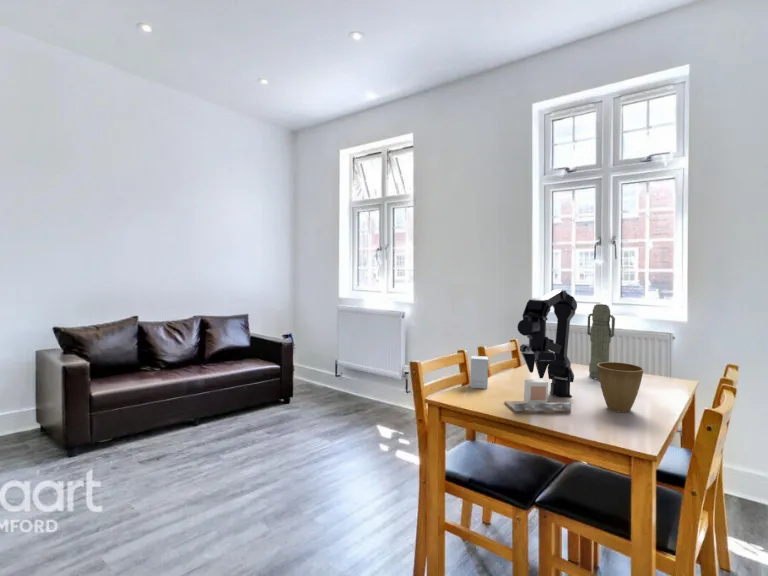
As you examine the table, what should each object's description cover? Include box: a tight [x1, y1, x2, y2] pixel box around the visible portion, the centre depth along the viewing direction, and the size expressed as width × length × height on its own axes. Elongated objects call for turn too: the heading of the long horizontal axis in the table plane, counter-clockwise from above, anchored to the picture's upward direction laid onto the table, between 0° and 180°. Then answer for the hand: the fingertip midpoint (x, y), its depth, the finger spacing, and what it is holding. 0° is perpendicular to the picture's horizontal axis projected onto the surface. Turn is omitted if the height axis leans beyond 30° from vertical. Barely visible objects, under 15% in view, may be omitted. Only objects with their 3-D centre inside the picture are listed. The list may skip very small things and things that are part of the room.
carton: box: [523, 378, 549, 403], centre depth 165 cm, size 4×7×9 cm, turn 93°
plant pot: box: [598, 361, 644, 413], centre depth 163 cm, size 15×15×16 cm
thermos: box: [586, 303, 616, 380], centre depth 213 cm, size 9×12×35 cm
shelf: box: [504, 400, 572, 414], centre depth 164 cm, size 20×12×3 cm, turn 93°
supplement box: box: [469, 355, 489, 390], centre depth 194 cm, size 7×7×13 cm
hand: (536, 375), depth 164 cm, fingers open, 9 cm apart
